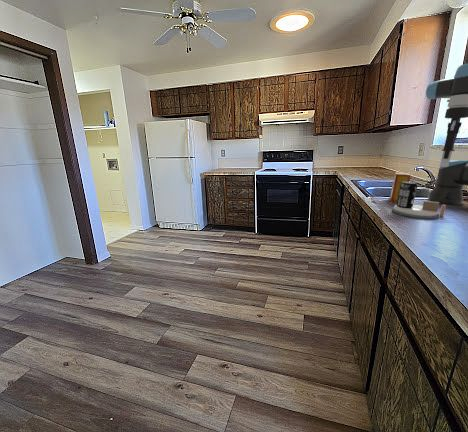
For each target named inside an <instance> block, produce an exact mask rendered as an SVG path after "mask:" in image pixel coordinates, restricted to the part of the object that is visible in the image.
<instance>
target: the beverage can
mask: <svg viewBox="0 0 468 432" xmlns="http://www.w3.org/2000/svg"><path fill="white" fill-rule="evenodd" d="M417 189H418V183H417V182H416V181H411V180H410V181H403V182H402V184H401V185H400V190H399V194H398V199H397V202H396V204H395V205H397V206H398V207H401V208H411V207H413V205H414V204H415V203H414V202H415V198H416V194H417Z"/></svg>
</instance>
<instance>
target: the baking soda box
mask: <svg viewBox="0 0 468 432" xmlns="http://www.w3.org/2000/svg"><path fill="white" fill-rule="evenodd" d="M411 176H412V175H411V174H410V172H397V171H395V172H394V176H393V181H392V187H391V192H390V196H389V200H390V202H391V203H397V199H398V194H399V190H400V185H401V184H402V182H403V181H410V182H411Z"/></svg>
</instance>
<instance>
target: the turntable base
mask: <svg viewBox="0 0 468 432" xmlns="http://www.w3.org/2000/svg"><path fill="white" fill-rule="evenodd" d="M446 208H447V204H441V208H440V211H439V213H438V215H437V216H431V217H426V216H415V215H409V214H404V213H401V212H398V211H396V210H394V207H393V208H392V213H394V214H396V215H399V216H403V217H405V218H406V217H407V218H410V219H420V220H437V219H439V217H440V218H443V217H444V215H445V211H446Z"/></svg>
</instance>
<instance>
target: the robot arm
mask: <svg viewBox="0 0 468 432" xmlns="http://www.w3.org/2000/svg"><path fill="white" fill-rule="evenodd" d="M425 96H426V98H427V99H428V100H437V99H447V100H446V102H447V103H448V104H447V106H446V107H448V108H447V109H446V110H445V111H446V112H445V113H444V114H445V115H444V118H445V119H451V120H450V122H448V123H447V129H446V130H447V131H446V139H445V143H444V146H443V149H441V151H442V157H441V159H440V163H439V168H438V173H437V177H436V181H435V185H434V187H433V189H432V190H431V192H430V194H429V195H428V197H427V201H432V202H439V204H441V205H452V206H453V205H454V206H457V205H459V206H461V205H463V204H464V203H463V202H464V197H463V187H464V186H467V187H468V159H461V160H460V159H459V160H458V159H457V160H451V157H452V154H453V152H455V149H454V147H455V142H456V140H457V135H458V134H459V131H460V128H461V127H462V122H460V121H461V119H465V118H468V62H467V63H463V64H461V65H459V66H458V67H457V68H456V69H455V74H454V76H453V77H452V78H447V79H440V80H439V79H437V80H436V81H432V82H430V83H428V85H427V87H426V90H425Z"/></svg>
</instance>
